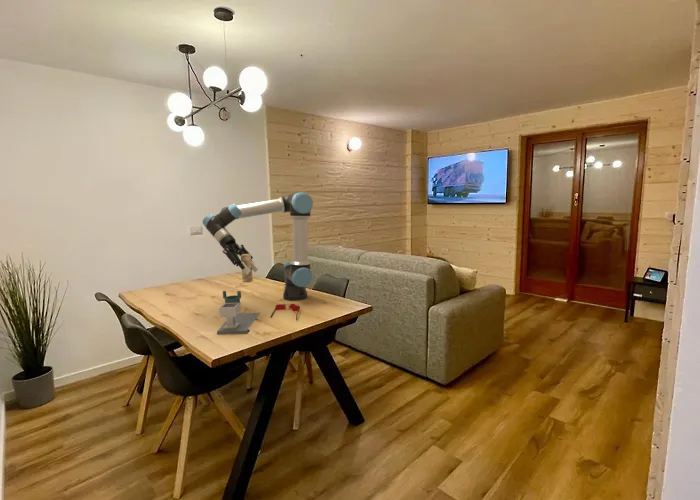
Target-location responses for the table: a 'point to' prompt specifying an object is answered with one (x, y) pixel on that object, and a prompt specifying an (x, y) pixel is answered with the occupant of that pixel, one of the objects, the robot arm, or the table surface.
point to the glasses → (283, 306)
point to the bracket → (232, 297)
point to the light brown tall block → (247, 260)
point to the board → (244, 325)
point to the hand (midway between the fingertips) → (252, 271)
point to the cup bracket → (230, 314)
